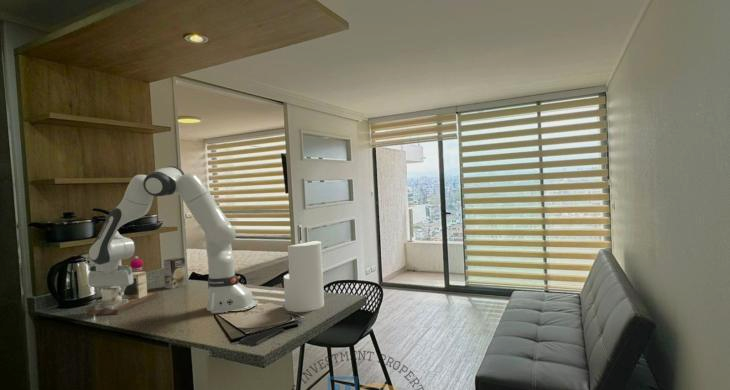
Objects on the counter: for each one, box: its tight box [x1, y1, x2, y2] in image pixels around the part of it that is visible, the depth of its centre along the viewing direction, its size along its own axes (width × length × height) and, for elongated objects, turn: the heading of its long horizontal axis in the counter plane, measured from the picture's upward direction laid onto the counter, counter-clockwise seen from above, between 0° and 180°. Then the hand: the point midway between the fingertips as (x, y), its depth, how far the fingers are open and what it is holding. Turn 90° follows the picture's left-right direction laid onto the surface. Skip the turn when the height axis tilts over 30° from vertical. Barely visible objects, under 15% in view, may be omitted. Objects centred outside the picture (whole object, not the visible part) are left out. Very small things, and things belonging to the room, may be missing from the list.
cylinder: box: [283, 240, 325, 313], centre depth 170 cm, size 17×17×28 cm
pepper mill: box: [129, 255, 144, 272], centre depth 210 cm, size 7×7×20 cm
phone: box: [239, 326, 285, 347], centre depth 135 cm, size 8×1×15 cm
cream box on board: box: [86, 271, 159, 315], centre depth 185 cm, size 15×28×14 cm, turn 174°
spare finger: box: [101, 286, 122, 305], centre depth 178 cm, size 7×4×8 cm, turn 174°
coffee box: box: [163, 257, 186, 290], centre depth 220 cm, size 9×6×16 cm
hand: (111, 295), depth 177 cm, fingers open, 8 cm apart
